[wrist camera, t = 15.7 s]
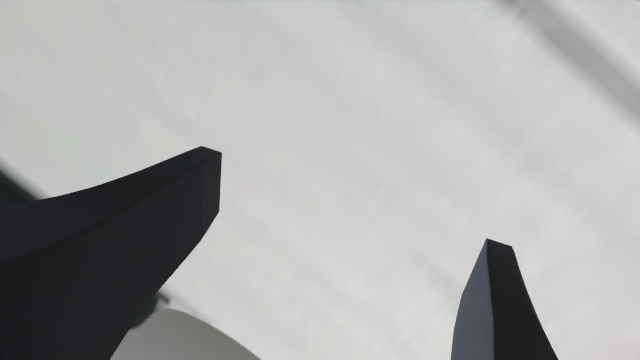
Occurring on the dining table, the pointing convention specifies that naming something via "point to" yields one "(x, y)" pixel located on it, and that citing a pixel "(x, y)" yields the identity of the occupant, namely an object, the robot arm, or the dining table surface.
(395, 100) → the dining table surface
